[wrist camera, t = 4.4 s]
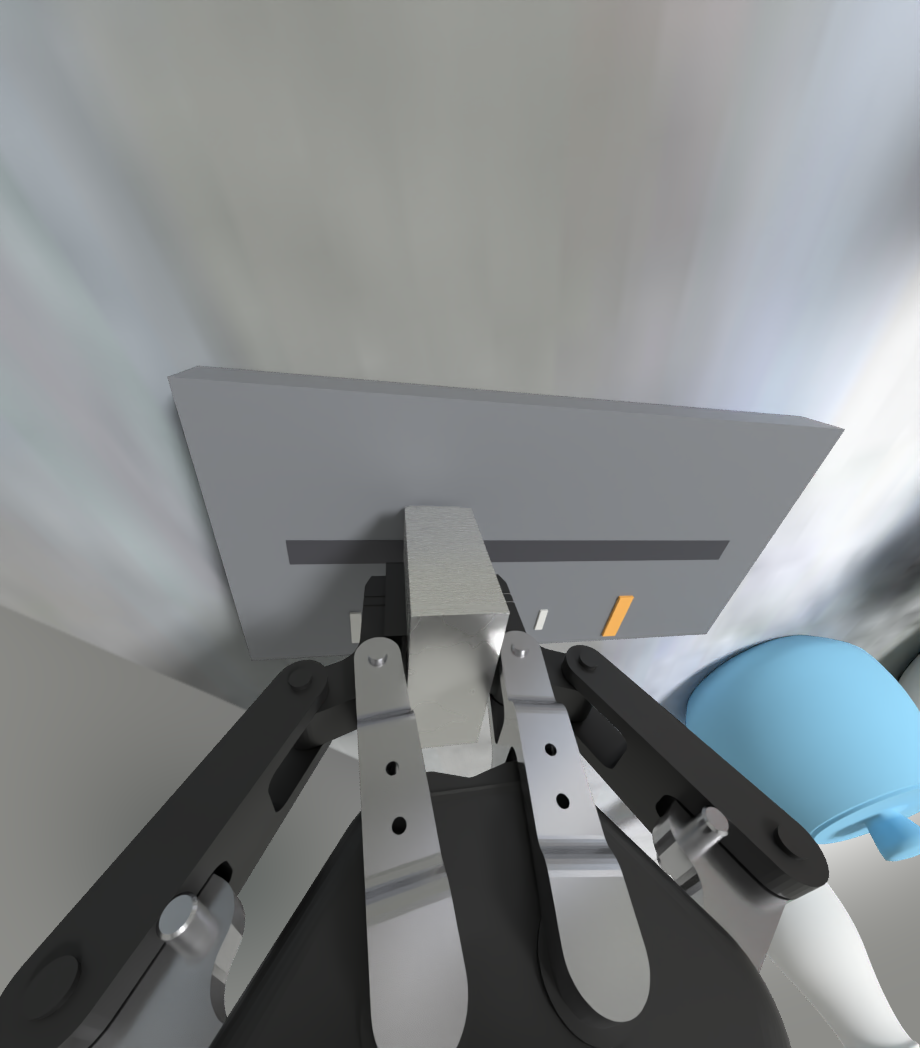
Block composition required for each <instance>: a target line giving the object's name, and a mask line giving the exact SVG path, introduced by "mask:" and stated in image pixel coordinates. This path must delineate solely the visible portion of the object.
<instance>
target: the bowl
mask: <svg viewBox="0 0 920 1048" xmlns="http://www.w3.org/2000/svg"><path fill="white" fill-rule="evenodd" d="M898 683H899V684H900V685H901V686H902V687H903V688H904V690H905V691H906V692H907V694H908V695H909V696H910V698H911V699H912V701H913V702H914V703H915V705H916V706H917V708H918V710H919V712H920V654H919V655H918V656H917V657H916V658H915V659H914V660H913V661H912V662H911V664H910V665H909V666H908V667H907V669H906V670H905V671H904V673H903V674H902V676H901V678H900V680H899V681H898Z"/></svg>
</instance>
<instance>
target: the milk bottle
mask: <svg viewBox="0 0 920 1048" xmlns="http://www.w3.org/2000/svg"><path fill="white" fill-rule="evenodd" d="M767 955H768V956H769V957H770V959H771V960H772V961H773V962H774V963H775V965H776V966H777V967H778V968H779V969H780V970H781V971H782V972H783V973H784V975H785V976H786V977H787V978H788V979H789V980H790V981H791V982H792V983H793V984H794V985H795V986H796V987H797V988H798V989H799V990H800V992H801V993H802V994H803V995H804V996H805V997H806V998H807V999H808V1000H809V1001H810V1003H811V1004H812V1005H813V1006H814V1007H815V1009H816V1010H817V1011H818V1012H819V1013H820V1015H821V1016H822V1017H823V1019H824V1020H825V1021H826V1022H827V1024H828V1025H829V1026H830V1027H831V1029H832V1030H833V1031H834V1033H835V1034H836V1036H837V1037H838V1039H839V1040H840V1042H841V1043H842V1045H843V1046H844V1048H920V1047H919V1044H918V1043H917V1042H915V1041H913V1040H912V1039H911V1038H910V1037H909V1036H908V1035H907V1033H906V1032H905V1031H904V1029H903V1028H902V1026H901V1025H900V1023H899V1022H898V1020H897V1018H896V1017H895V1015H894V1013H893V1011H892V1009H891V1007H890V1006H889V1003H888V1001H887V999H886V998H885V995H884V994H883V991H882V989H881V987H880V985H879V983H878V980H877V978H876V976H875V973H874V971H873V968H872V965H871V963H870V961H869V958H868V955H867V952H866V950H865V947H864V945H863V942H862V940H861V938H860V936H859V934H858V931H857V929H856V927H855V925H854V924H853V922H852V920H851V918H850V916H849V915H848V913H847V911H846V910H845V908H844V906H843V905H842V903H841V902H840V900H839V899H838V897H837V896H836V894H835V893H834V892H833V890H832V889H831V887H830V886H829V884H828V883H827V882H826V884H825V885H823V886H821V887H819V888H817V889H815V890H813V891H811V892H809V893H807V894H805V895H803V896H801V897H799V898H797V899H795V900H793V901H791V902H789V903H787V904H786V905H785V907H784V910H783V912H782V915H781V918H780V920H779V923H778V926H777V928H776V931H775V933H774V936H773V939H772V941H771V944H770V946H769V949H768V952H767Z"/></svg>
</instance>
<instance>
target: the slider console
mask: <svg viewBox="0 0 920 1048" xmlns="http://www.w3.org/2000/svg"><path fill="white" fill-rule="evenodd" d="M167 378H168V381H169V384H170V388H171V391H172V394H173V398H174V401H175V404H176V408H177V411H178V415H179V418H180V421H181V425H182V428H183V431H184V435H185V438H186V441H187V445H188V448H189V452H190V455H191V458H192V462H193V465H194V468H195V472H196V475H197V478H198V482H199V485H200V489H201V492H202V495H203V499H204V502H205V505H206V509H207V512H208V515H209V519H210V522H211V526H212V529H213V532H214V536H215V539H216V542H217V546H218V549H219V552H220V556H221V559H222V563H223V566H224V569H225V573H226V576H227V579H228V583H229V586H230V589H231V593H232V596H233V600H234V603H235V606H236V610H237V613H238V616H239V620H240V623H241V626H242V630H243V633H244V637H245V640H246V643H247V647H248V650H249V653H250V657H251V660H269V659H286V658H304V657H321V656H338V655H351V654H352V653H353V652H354V651H355V650H356V648H357V647H358V645H359V641H360V633H361V622H362V611H363V600H364V590H365V585H366V583H367V582H368V580H369V579H370V577H371V576H386V562H403V547H404V517H405V507H409V506H456V507H460V508H471V509H472V512H473V515H474V517H475V520H476V523H477V525H478V528H479V531H480V534H481V536H482V539H483V542H484V544H485V547H486V550H487V552H488V555H489V558H490V561H491V563H492V566H493V569H494V571H495V574H498V575H499V576H500V577H501V578H502V579H503V580H504V581H505V582H506V583H507V585H508V588H509V590H510V595H512V598H513V602H514V603H515V606H516V608H517V611H518V613H519V616H520V618H521V621H522V623H523V626H524V628H525V631H526V633H527V634H529V635H531V636H532V637H533V638H535V639H536V641H537V642H538V643H539V644H545V643H562V642H579V641H596V640H613V639H631V638H648V637H665V636H682V635H699V634H707V632H708V631H709V629H710V628H711V626H712V625H713V623H714V622H715V620H716V619H717V617H718V616H719V614H720V613H721V611H722V610H723V609H724V607H725V606H726V604H727V603H728V601H729V600H730V598H731V597H732V595H733V594H734V592H735V591H736V589H737V588H738V586H739V585H740V583H741V582H742V580H743V579H744V578H745V576H746V575H747V573H748V572H749V570H750V569H751V567H752V566H753V564H754V563H755V561H756V560H757V558H758V557H759V555H760V554H761V552H762V551H763V550H764V548H765V547H766V545H767V544H768V542H769V541H770V539H771V538H772V536H773V535H774V533H775V532H776V530H777V529H778V527H779V526H780V524H781V523H782V521H783V520H784V519H785V517H786V516H787V514H788V513H789V511H790V510H791V508H792V507H793V505H794V504H795V502H796V501H797V499H798V498H799V496H800V495H801V493H802V492H803V491H804V489H805V488H806V486H807V485H808V483H809V482H810V480H811V479H812V477H813V476H814V474H815V473H816V471H817V470H818V468H819V467H820V465H821V464H822V462H823V461H824V460H825V458H826V457H827V455H828V454H829V452H830V451H831V449H832V448H833V446H834V445H835V443H836V442H837V440H838V439H839V437H840V436H841V434H842V433H843V431H844V430H845V429H842V428H839V427H836V426H832V425H829V424H825V423H822V422H819V421H815V420H812V419H809V418H805V417H802V416H791V415H779V414H767V413H755V412H743V411H731V410H719V409H707V408H695V407H683V406H671V405H659V404H647V403H635V402H623V401H611V400H599V399H587V398H575V397H563V396H551V395H539V394H527V393H515V392H503V391H491V390H479V389H467V388H455V387H444V386H432V385H420V384H408V383H396V382H384V381H372V380H360V379H348V378H336V377H324V376H312V375H300V374H288V373H276V372H264V371H252V370H240V369H228V368H216V367H204V366H196V367H193V368H191V369H188V370H185V371H182V372H180V373H177V374H174V375H171V376H168V377H167Z"/></svg>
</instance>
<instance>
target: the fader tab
mask: <svg viewBox="0 0 920 1048" xmlns="http://www.w3.org/2000/svg"><path fill="white" fill-rule="evenodd" d="M403 562H404V576H405V599H406V623H407V646H406V668H405V680H406V685H407V691H408V696H409V702H410V707H411V710H413V711H414V713H415V717H416V722H417V727H418V733H419V738H420V743H421V749H422V748H431V747H441V746H450V745H459V744H468V743H477V741H478V737H479V733H480V729H481V725H482V721H483V717H484V713H485V709H486V705H487V701H488V697H489V693H490V689H491V685H492V681H493V677H494V673H495V669H496V665H497V662H498V658H499V654H500V650H501V646H502V642H503V638H504V634H505V630H506V626H507V622H508V618H509V614H510V612H509V609H508V606H507V604H506V601H505V598H504V596H503V593H502V590H501V588H500V585H499V582H498V579H497V577H496V574H495V571H494V569H493V566H492V563H491V561H490V558H489V555H488V552H487V550H486V547H485V544H484V542H483V539H482V536H481V534H480V531H479V528H478V525H477V523H476V520H475V517H474V515H473V512H472V509H471V508H460V507H456V506H409V507H405V517H404V547H403Z"/></svg>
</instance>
